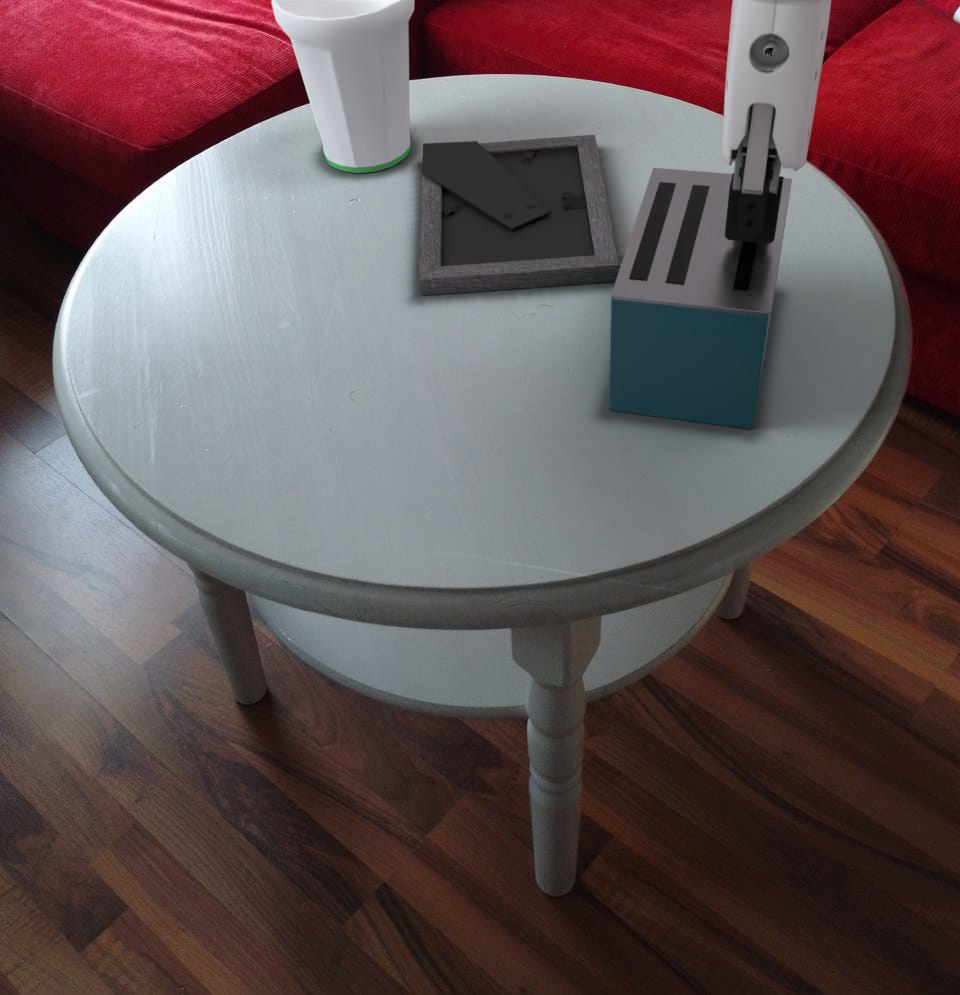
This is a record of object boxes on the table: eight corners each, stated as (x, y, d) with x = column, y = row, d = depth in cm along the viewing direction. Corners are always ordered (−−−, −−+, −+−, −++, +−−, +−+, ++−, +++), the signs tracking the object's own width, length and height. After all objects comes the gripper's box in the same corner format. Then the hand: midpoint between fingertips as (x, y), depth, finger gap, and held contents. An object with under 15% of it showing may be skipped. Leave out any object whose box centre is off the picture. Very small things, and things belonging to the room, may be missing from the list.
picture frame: (425, 162, 103) (421, 295, 89) (423, 143, 102) (418, 274, 87) (594, 149, 102) (618, 281, 88) (594, 130, 101) (618, 260, 87)
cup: (355, 109, 111) (330, -48, 100) (456, 135, 106) (441, -28, 95) (277, 166, 105) (241, 5, 94) (382, 197, 99) (356, 30, 88)
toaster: (774, 292, 86) (792, 177, 78) (751, 429, 75) (769, 311, 68) (648, 279, 88) (653, 166, 81) (608, 410, 78) (610, 294, 70)
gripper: (852, 4, 53) (799, 309, 67) (864, -105, 63) (816, 180, 76) (697, -2, 55) (676, 296, 68) (732, -107, 65) (707, 172, 78)
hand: (750, 234), depth 72 cm, fingers closed
